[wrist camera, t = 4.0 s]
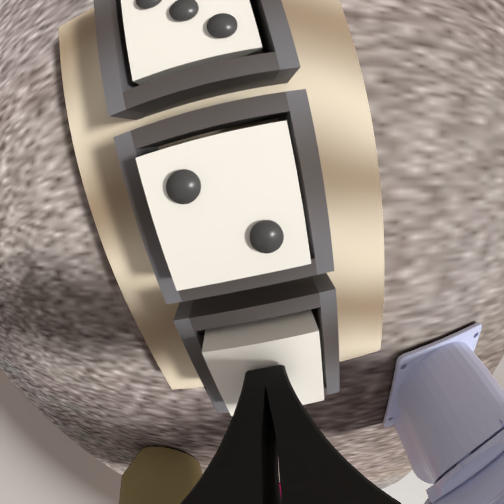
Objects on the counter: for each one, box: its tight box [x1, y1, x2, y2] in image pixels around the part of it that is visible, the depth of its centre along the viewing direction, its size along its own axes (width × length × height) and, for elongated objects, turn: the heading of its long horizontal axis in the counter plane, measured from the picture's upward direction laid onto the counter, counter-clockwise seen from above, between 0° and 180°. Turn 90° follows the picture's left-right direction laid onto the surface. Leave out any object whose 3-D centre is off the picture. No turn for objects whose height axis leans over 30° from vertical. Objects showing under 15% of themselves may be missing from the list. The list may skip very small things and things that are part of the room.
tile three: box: [121, 0, 262, 85], centre depth 7 cm, size 4×4×2 cm
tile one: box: [202, 309, 324, 416], centre depth 11 cm, size 4×4×2 cm
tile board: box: [59, 0, 384, 414], centre depth 10 cm, size 20×12×4 cm, turn 12°
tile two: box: [136, 120, 311, 291], centre depth 8 cm, size 4×4×2 cm
